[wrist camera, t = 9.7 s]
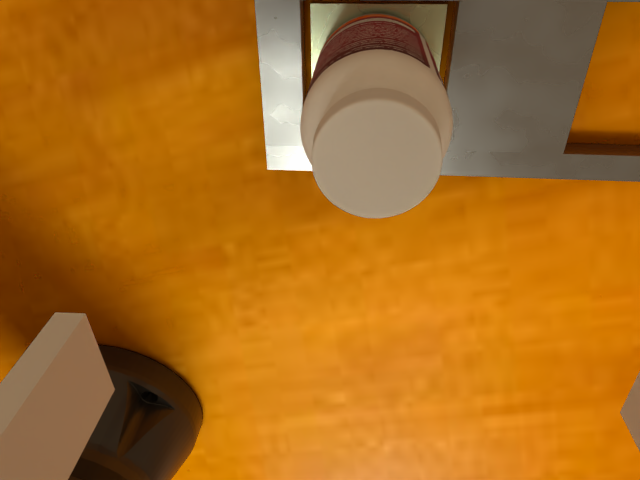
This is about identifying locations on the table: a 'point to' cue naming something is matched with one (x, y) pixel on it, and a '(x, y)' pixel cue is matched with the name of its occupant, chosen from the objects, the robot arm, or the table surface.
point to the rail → (463, 82)
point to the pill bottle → (376, 117)
